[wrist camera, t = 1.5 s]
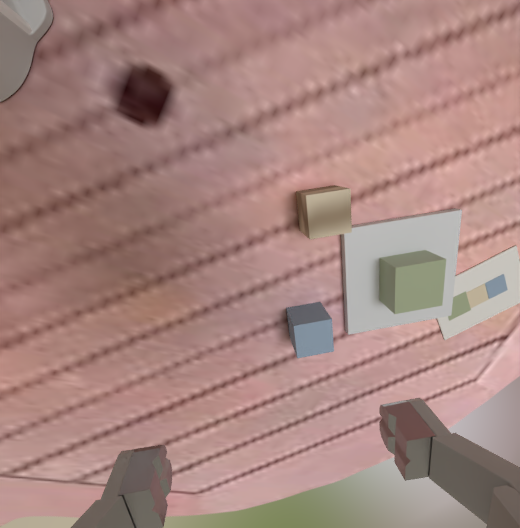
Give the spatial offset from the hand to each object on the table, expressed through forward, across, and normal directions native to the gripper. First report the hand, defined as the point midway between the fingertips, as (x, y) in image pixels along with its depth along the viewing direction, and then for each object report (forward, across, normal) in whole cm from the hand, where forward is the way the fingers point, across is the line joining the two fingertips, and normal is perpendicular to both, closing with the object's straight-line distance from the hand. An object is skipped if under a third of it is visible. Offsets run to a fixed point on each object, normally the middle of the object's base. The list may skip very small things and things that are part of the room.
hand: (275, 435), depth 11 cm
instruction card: (+29, -34, +13) cm, 47 cm away
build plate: (+29, -21, +7) cm, 36 cm away
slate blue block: (+29, -7, +12) cm, 32 cm away
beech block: (+29, -10, -4) cm, 31 cm away
